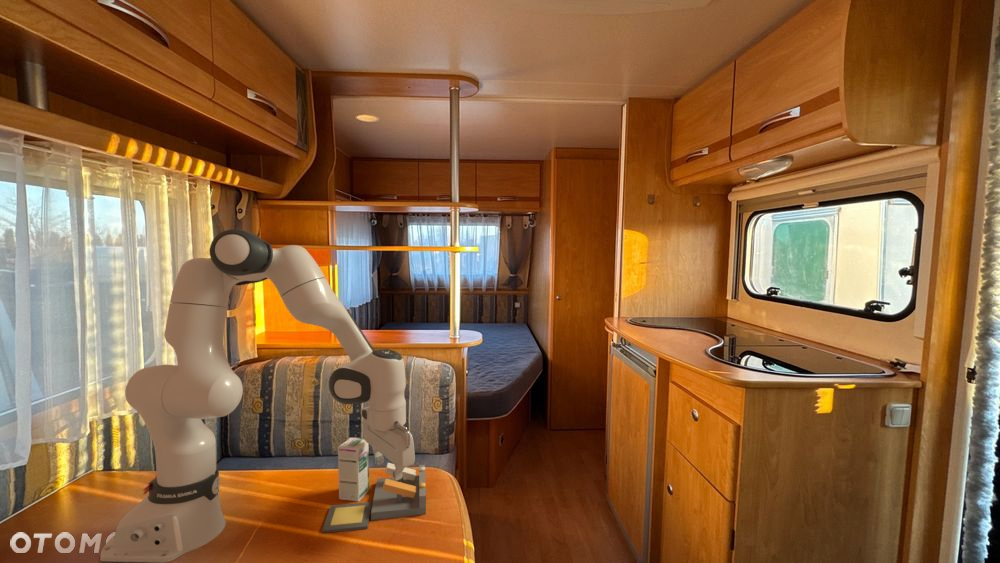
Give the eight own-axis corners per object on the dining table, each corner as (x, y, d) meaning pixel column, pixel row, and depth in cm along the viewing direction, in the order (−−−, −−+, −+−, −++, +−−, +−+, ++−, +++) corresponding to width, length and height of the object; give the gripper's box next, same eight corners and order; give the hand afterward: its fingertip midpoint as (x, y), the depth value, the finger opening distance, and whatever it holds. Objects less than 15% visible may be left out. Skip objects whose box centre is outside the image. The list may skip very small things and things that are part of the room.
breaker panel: (371, 520, 104) (370, 498, 104) (377, 485, 120) (377, 466, 120) (425, 515, 107) (426, 493, 107) (424, 481, 123) (424, 462, 122)
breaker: (385, 473, 116) (387, 467, 116) (385, 468, 119) (387, 462, 119) (413, 480, 118) (415, 475, 118) (413, 475, 120) (415, 470, 120)
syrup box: (358, 502, 112) (358, 447, 111) (337, 499, 113) (337, 445, 112) (369, 491, 117) (369, 438, 116) (349, 488, 119) (349, 436, 118)
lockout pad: (322, 533, 100) (322, 529, 100) (330, 507, 109) (330, 505, 109) (367, 528, 101) (367, 525, 101) (371, 504, 111) (371, 501, 111)
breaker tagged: (382, 490, 108) (384, 484, 108) (383, 484, 110) (385, 478, 110) (413, 498, 109) (415, 492, 109) (413, 492, 112) (415, 486, 112)
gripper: (421, 426, 101) (421, 483, 102) (380, 402, 116) (381, 452, 117) (396, 433, 96) (397, 493, 98) (357, 407, 112) (358, 459, 113)
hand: (388, 470), depth 107 cm, fingers open, 8 cm apart
